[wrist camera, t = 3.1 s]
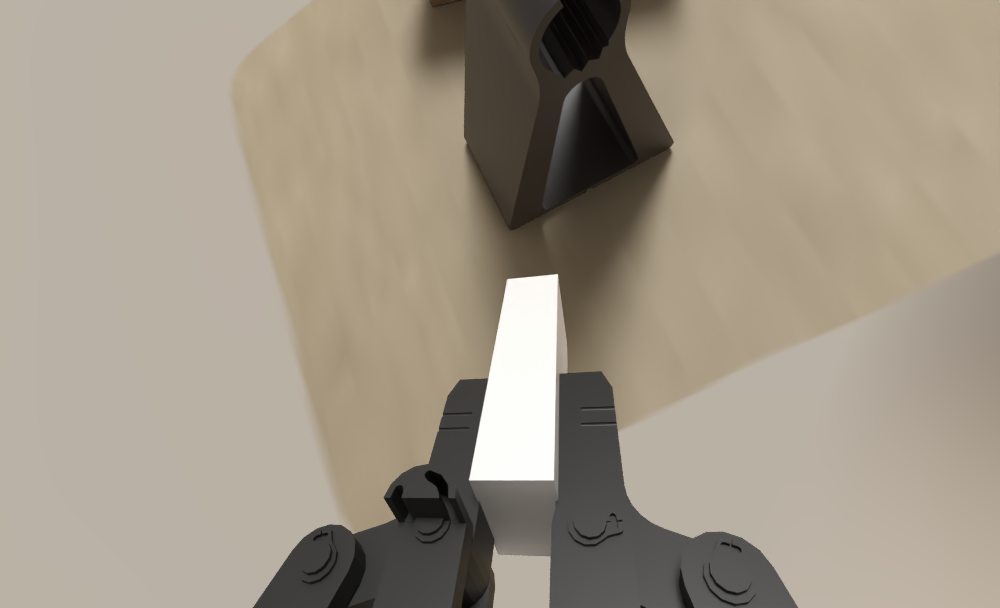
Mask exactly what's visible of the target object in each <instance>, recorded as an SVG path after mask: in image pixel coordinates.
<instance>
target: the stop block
mask: <svg viewBox="0 0 1000 608" xmlns="http://www.w3.org/2000/svg"><path fill="white" fill-rule="evenodd" d="M454 1H458V0H430V2H431V4H432V7H434V6H438V5H442V4H446V3H450V2H454Z"/></svg>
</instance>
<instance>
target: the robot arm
mask: <svg viewBox="0 0 1000 608" xmlns="http://www.w3.org/2000/svg"><path fill="white" fill-rule="evenodd" d="M384 499H385V501H386V502H387V504H388V506H389V507H390V509H391V511H392V512H393V514H394V515H395V517H396V519H394V520H392V521H390V522H388V523H385V524H383V525H380V526H377V527H374V528H370V529H367V530H364V531H361V532H358V533H355V534H352V533H351V531H349V530H348V529H346V528H345V527H344V526H342V525H327V526H324V527H321V528H318V529H316V530H314V531H313V532H311V533H310V534H308V535H307V536H306V537H304V538H303V539H302V540H301V541H300V542H299V544H298V545H297V546H296V547H295V548H294V549H293V550H292V552H291V553H290V555H289V556H288V558H287V559H286V560H285V562H284V563H283V565H282V566H281V568H280V569H279V571H278V572H277V573H276V575H275V576H274V578H273V579H272V581H271V582H270V584H269V585H268V587H267V588H266V589H265V591H264V593H263V594H262V595H261V597H260V598H259V600H258V601H257V603H256V604H255V606H254V607H253V608H493V600H494V591H495V580H494V573H493V570H492V568H491V564H492V555H493V548H494V545H495V547H496V550H497V552H498V554H501V555H529V556H531V555H532V556H551V568H550V608H798V607H797V605H796V604H795V602H794V600H793V599H792V597H791V595H790V594H789V592H788V590H787V589H786V587H785V585H784V584H783V582H782V581H781V579H780V577H779V576H778V574H777V572H776V571H775V569H774V567H773V566H772V565H771V564H770V563H769V561H768V560H767V559H766V558H765V556H764V555H763V554H762V553H761V551H760V550H758V549H757V548H756V547H754V546H753V545H751V544H750V543H748V542H747V541H745V540H744V539H743V538H740V537H737V536H734V535H731V534H728V533H725V532H705V533H703V534H701V535H699V536H697V537H695V538H690V537H687V536H684V535H681V534H678V533H675V532H672V531H669V530H666V529H664V528H662V527H659V526H657V525H655V524H653V523H651V522H650V521H648V520H647V519H646V518H644V517H643V516H641V515H640V514H639V512H638V511H637V510H636V509H635V508H634V507H633V506H632V504H631V502H630V500H629V498H628V496H627V494H626V490H625V486H624V480H623V471H622V463H621V455H620V447H619V439H618V430H617V423H616V414H615V406H614V398H613V390H612V386H611V385H610V383H609V382H608V381H607V379H606V378H605V376H604V375H603V373H602V372H582V373H567V340H566V332H565V325H564V317H563V310H562V302H561V294H560V287H559V279H558V274H555V275H545V276H535V277H524V278H514V279H507V284H506V290H505V295H504V300H503V305H502V310H501V316H500V321H499V326H498V331H497V337H496V342H495V347H494V352H493V358H492V363H491V368H490V373H489V378H488V379H468V380H460V381H459V382H458V383H457V385H456V386H455V387H454V388H453V390H452V391H451V392H450V394H449V395H448V397H447V401H446V404H445V408H444V412H443V417H442V419H441V422H440V426H439V432H438V433H437V436H436V440H435V443H434V447H433V451H432V454H431V458H430V461H429V464H426V465H421V466H416V467H413V468H411V469H410V470H408V471H406V472H404V473H402V474H401V475H400V476H399V477H398V478H397V479H396V480H395V481H394V482H393V483H392V484H391V485H390V487H389V489H388V491H387V492H386V494H385V496H384Z"/></svg>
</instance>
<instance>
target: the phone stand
mask: <svg viewBox="0 0 1000 608" xmlns="http://www.w3.org/2000/svg"><path fill="white" fill-rule="evenodd" d="M630 4H631V0H466V37H465V106H464V137H465V139H466V141H467V143H468V146H469V148H470V150H471V152H472V154H473V156H474V158H475V160H476V162H477V164H478V166H479V168H480V170H481V172H482V174H483V176H484V178H485V180H486V182H487V184H488V186H489V188H490V191H491V193H492V195H493V197H494V199H495V201H496V203H497V205H498V207H499V209H500V211H501V213H502V215H503V217H504V219H505V221H506V223H507V225H508V227H509V229H510V230H514V229H516V228H518V227H520V226H522V225H524V224H526V223H528V222H530V221H532V220H534V219H535V218H537V217H539V216H541V215H543V214H545V213H547V212H549V211H551V210H553V209H554V208H556V207H558V206H560V205H562V204H564V203H566V202H568V201H570V200H572V199H573V198H575V197H577V196H579V195H581V194H583V193H585V192H586V191H587V190H588V189H590V188H594V187H596V186H598V185H600V184H602V183H604V182H606V181H608V180H610V179H611V178H613V177H615V176H617V175H619V174H621V173H623V172H625V171H627V170H629V169H630V168H632V167H634V166H636V165H638V164H640V163H642V162H644V161H646V160H648V159H649V158H651V157H653V156H655V155H657V154H659V153H661V152H663V151H665V150H666V149H668V148H669V147H671V146H672V144H673V143H674V141H673V139H672V138H671V136H670V134H669V132H668V130H667V128H666V126H665V124H664V123H663V121H662V119H661V117H660V115H659V113H658V111H657V109H656V107H655V106H654V104H653V102H652V100H651V98H650V96H649V94H648V92H647V90H646V89H645V87H644V85H643V83H642V81H641V79H640V77H639V75H638V74H637V72H636V70H635V68H634V66H633V64H632V62H631V60H630V58H629V57H628V54H627V52H626V48H625V29H626V23H627V19H628V15H629V11H630Z"/></svg>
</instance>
